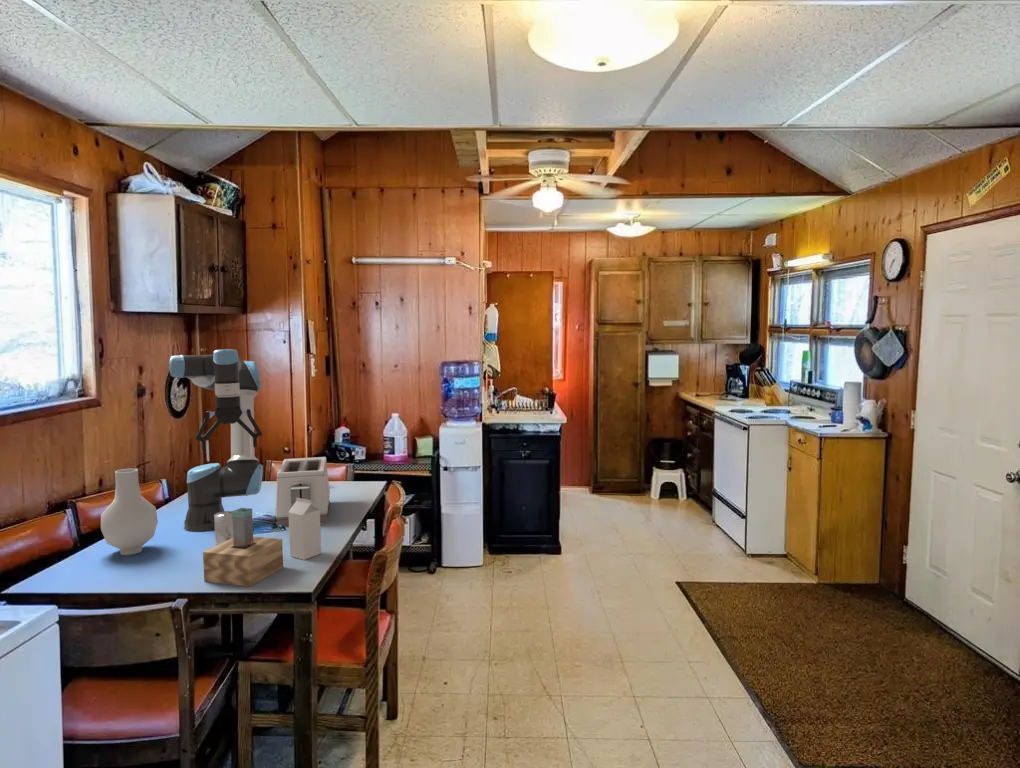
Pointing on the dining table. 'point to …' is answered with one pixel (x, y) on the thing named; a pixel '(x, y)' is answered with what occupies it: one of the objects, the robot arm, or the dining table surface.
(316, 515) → the milk carton
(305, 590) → the dining table surface
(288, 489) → the toaster
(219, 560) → the socket block
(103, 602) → the dining table surface
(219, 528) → the round bit
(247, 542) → the square bit
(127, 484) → the vase
